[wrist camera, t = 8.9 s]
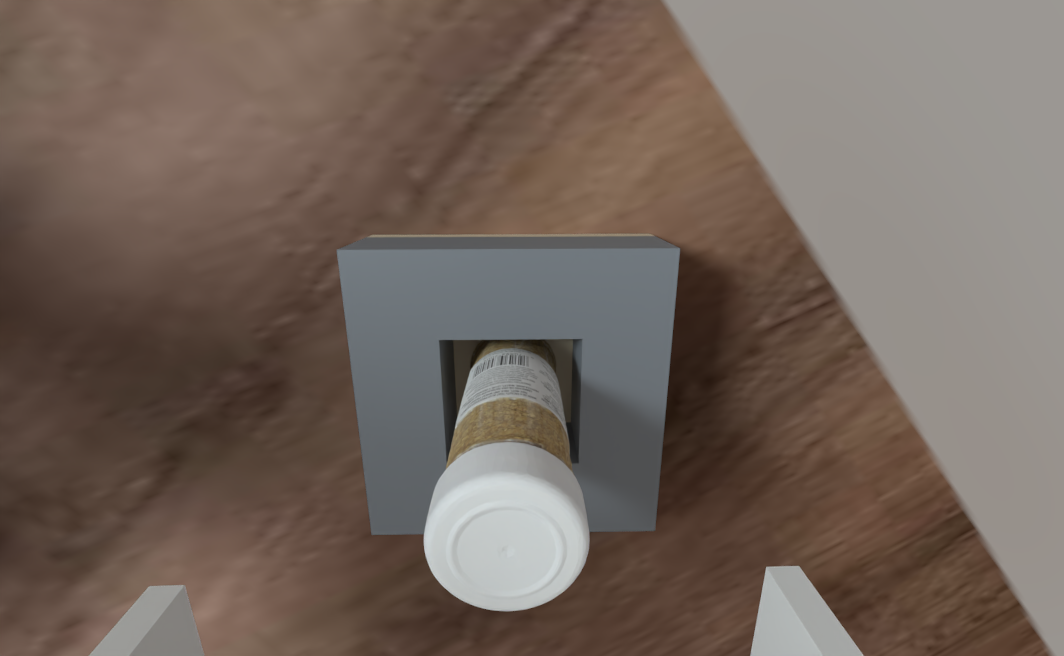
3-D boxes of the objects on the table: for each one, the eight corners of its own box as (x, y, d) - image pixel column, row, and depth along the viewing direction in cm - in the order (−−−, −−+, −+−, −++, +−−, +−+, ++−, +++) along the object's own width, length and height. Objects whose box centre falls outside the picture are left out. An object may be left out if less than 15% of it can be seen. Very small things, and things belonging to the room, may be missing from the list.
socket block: (396, 475, 29) (371, 534, 24) (372, 234, 25) (336, 249, 20) (633, 472, 29) (654, 531, 24) (650, 233, 25) (680, 248, 20)
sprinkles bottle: (469, 401, 26) (419, 616, 14) (472, 320, 25) (419, 475, 12) (554, 406, 27) (583, 623, 14) (561, 326, 25) (601, 483, 12)
